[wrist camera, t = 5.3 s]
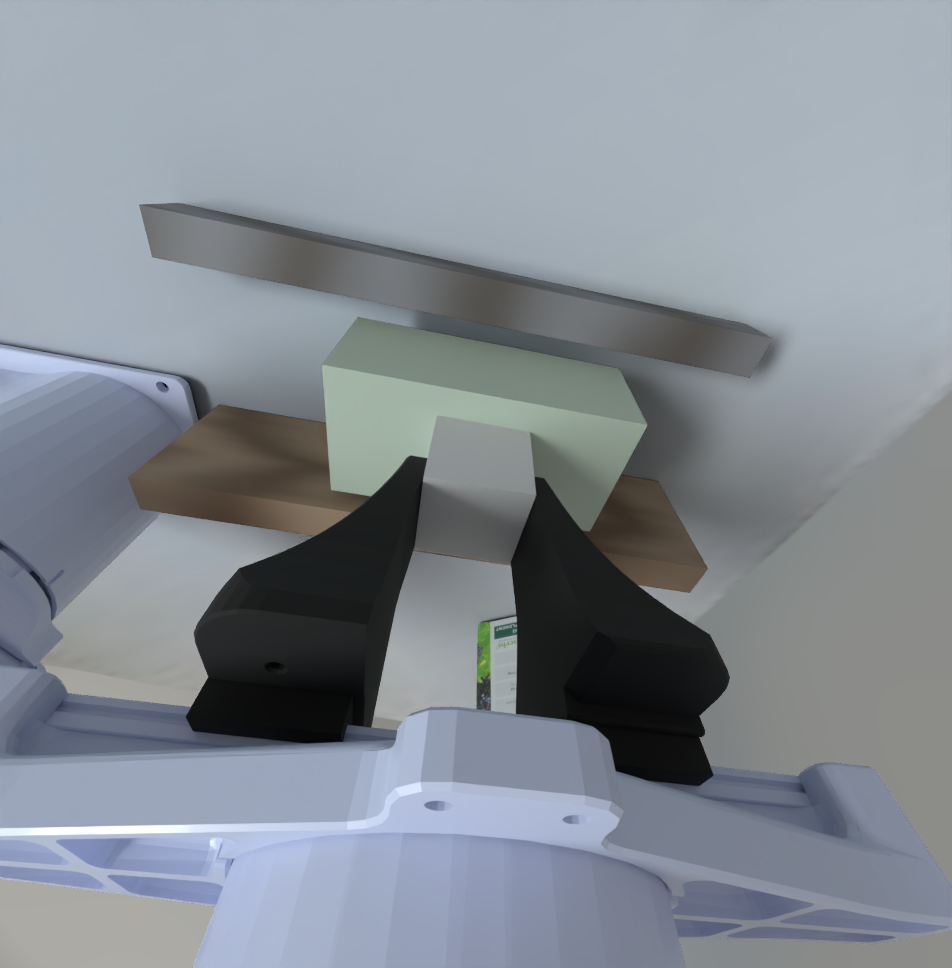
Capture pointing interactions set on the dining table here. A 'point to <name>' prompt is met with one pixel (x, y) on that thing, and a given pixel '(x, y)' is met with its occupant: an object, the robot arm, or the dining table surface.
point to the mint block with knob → (475, 431)
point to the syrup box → (497, 665)
